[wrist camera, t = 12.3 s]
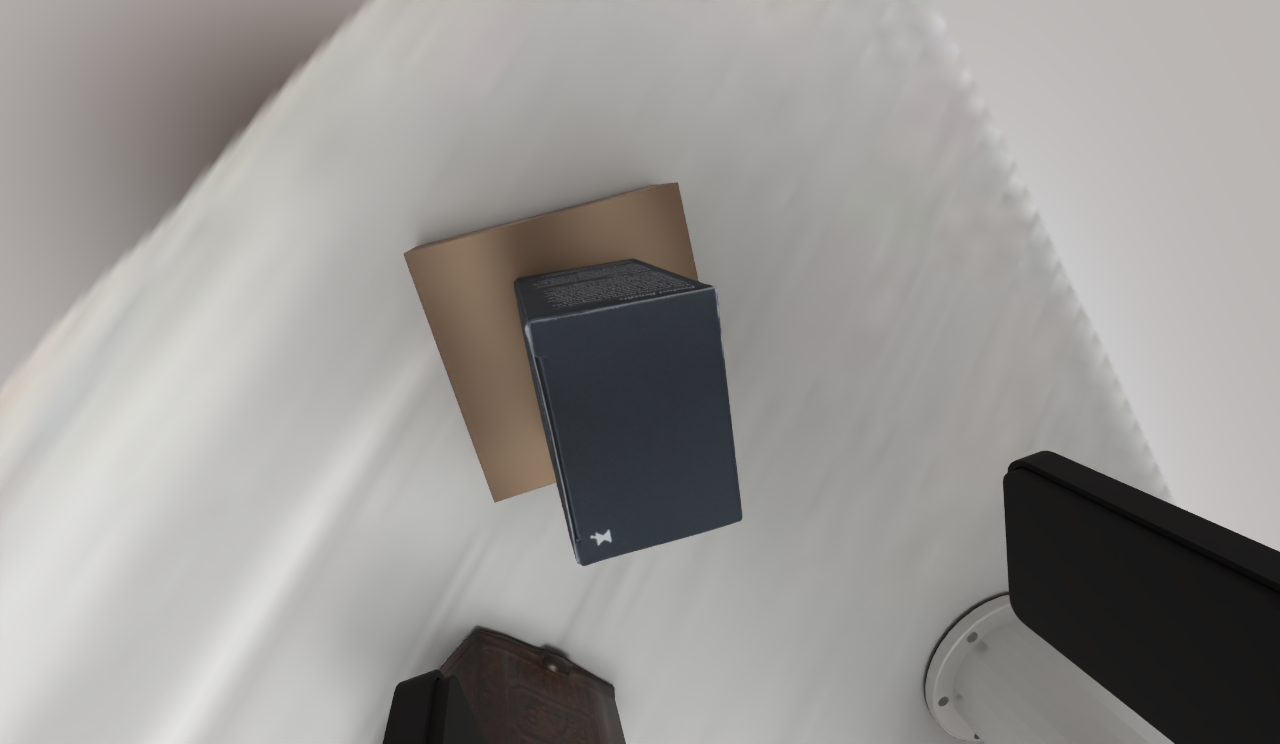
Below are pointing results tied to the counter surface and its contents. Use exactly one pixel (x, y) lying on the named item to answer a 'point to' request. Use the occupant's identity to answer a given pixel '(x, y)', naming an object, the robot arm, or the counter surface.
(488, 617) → the counter surface
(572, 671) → the antique coffee grinder
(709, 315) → the box
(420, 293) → the base
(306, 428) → the counter surface
